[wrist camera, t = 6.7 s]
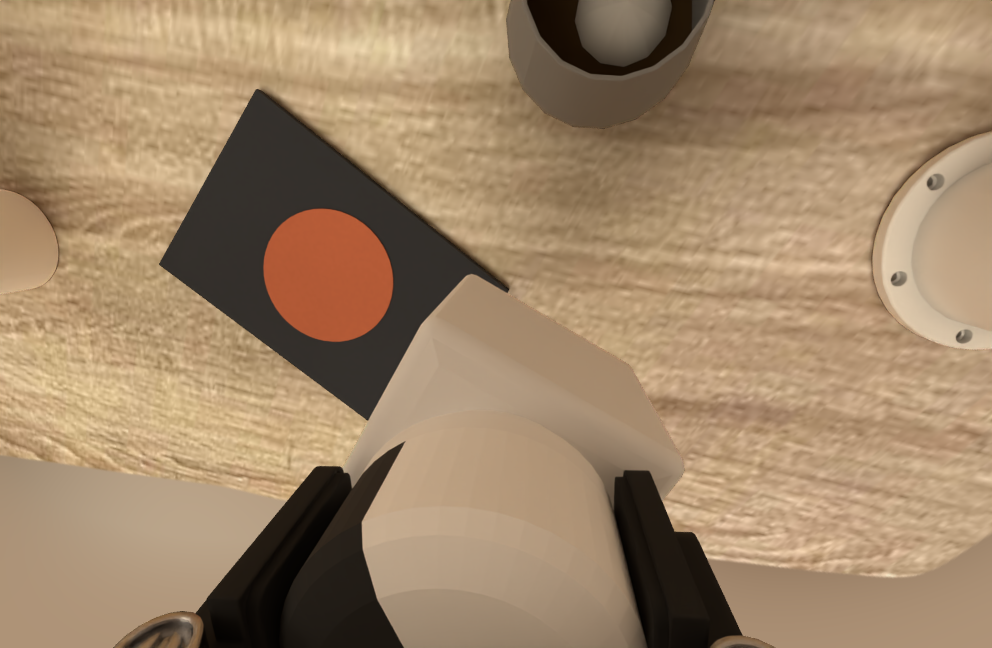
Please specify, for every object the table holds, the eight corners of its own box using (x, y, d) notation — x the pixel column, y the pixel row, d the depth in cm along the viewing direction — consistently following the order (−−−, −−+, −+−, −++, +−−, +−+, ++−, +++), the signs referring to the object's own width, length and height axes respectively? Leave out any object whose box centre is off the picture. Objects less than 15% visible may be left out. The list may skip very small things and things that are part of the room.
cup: (621, -86, 26) (668, -255, 16) (708, 68, 27) (799, -3, 18) (480, 33, 28) (446, -54, 18) (568, 169, 29) (580, 156, 20)
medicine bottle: (535, 504, 20) (533, 939, 8) (384, 419, 19) (154, 752, 8) (634, 365, 18) (815, 674, 6) (469, 268, 17) (335, 407, 6)
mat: (509, 289, 32) (508, 291, 31) (391, 432, 35) (388, 437, 35) (261, 90, 30) (255, 88, 29) (164, 263, 34) (157, 264, 33)
